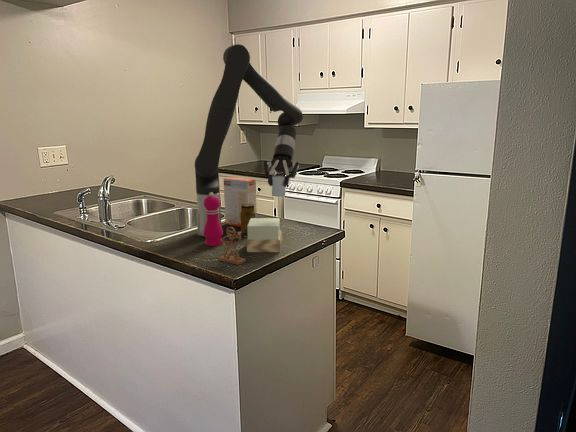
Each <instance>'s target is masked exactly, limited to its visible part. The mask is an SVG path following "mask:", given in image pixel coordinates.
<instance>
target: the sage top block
mask: <svg viewBox="0 0 576 432" xmlns="http://www.w3.org/2000/svg"><path fill="white" fill-rule="evenodd" d="M280 223H281V222H280V217H277V218H275V217H272V218H271V217H270V218H269V217H266V218H265V217H264V218H262V217H261V218H260V217H259V218H258V217H257V218H251V219H250V221H249V224H248V226H247V229H248V237H247V238H248V240H279V233H280V230H281V226H280V225H281V224H280Z"/></svg>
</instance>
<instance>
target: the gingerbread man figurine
mask: <svg viewBox="0 0 576 432" xmlns="http://www.w3.org/2000/svg"><path fill="white" fill-rule="evenodd" d="M225 232H226V236H224V237H222V244H221V245H222V246H227V248H226V250H225V252H224V255H222V256H220V257H218V260H219V261H220V262H224V263H229V264H234V265H238V266H240V265H243V264H244V263H246V262H247V260H246V258H245V257H244V258H243V257H241V256H240V254H239V252H238V250H237V249H238V248H237V247H236V244H238V243H240V242H241V240H242V235H241V234H239V233H237V231H236V229H235V228H234V227H233V226H229V227H227V228H226V231H225ZM226 238H228V240H225V239H226ZM235 239H238V241H234V240H235ZM233 241H234V242H233ZM230 248H231V250H230V252H229V253H228V251H229V249H230ZM233 249H234V250H233ZM234 251H235V252H234ZM235 253H236V254H235Z"/></svg>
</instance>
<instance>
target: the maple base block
mask: <svg viewBox="0 0 576 432" xmlns="http://www.w3.org/2000/svg"><path fill="white" fill-rule="evenodd" d="M282 244H283V230H281V229H280V233H279V240H248V237H246V253H281V250H282Z"/></svg>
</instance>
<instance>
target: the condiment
mask: <svg viewBox="0 0 576 432" xmlns="http://www.w3.org/2000/svg"><path fill="white" fill-rule="evenodd" d="M241 210H242V211H241V227H240V231H236V234H238V233H239V234H241V237H242V236H243V237H244V238H248V229H247V226H248V224H249V221H250V219H251V218H256V216H255V211H254V205H253V204H243V205H242V206H241Z"/></svg>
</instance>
